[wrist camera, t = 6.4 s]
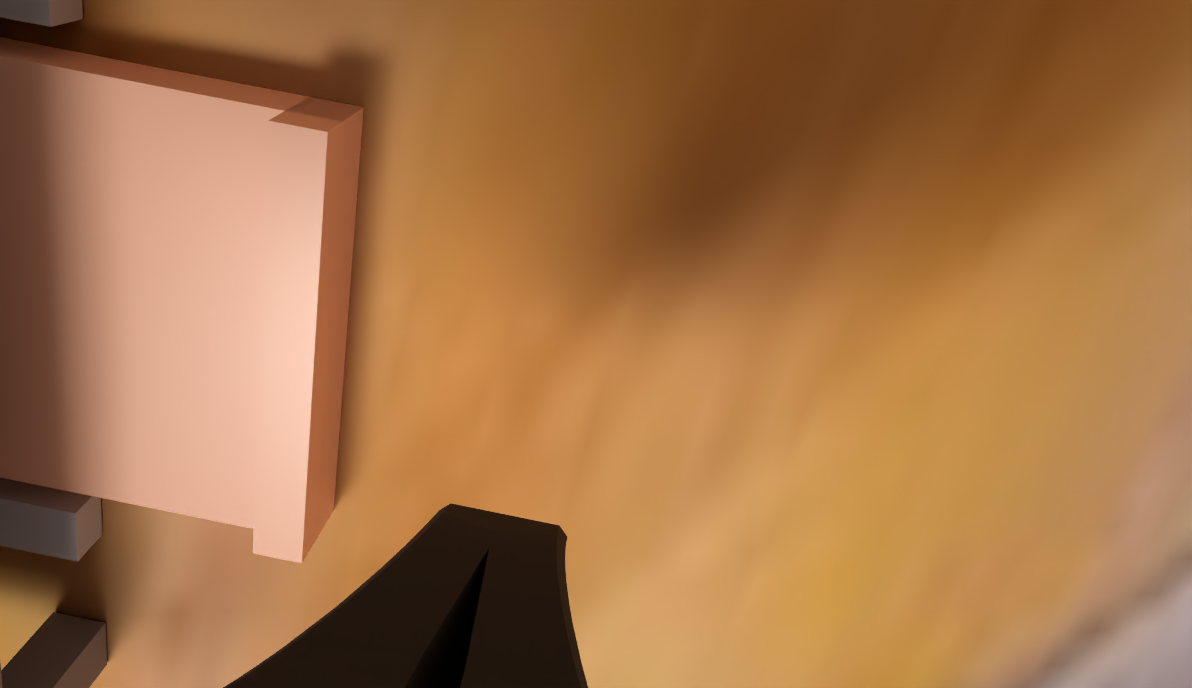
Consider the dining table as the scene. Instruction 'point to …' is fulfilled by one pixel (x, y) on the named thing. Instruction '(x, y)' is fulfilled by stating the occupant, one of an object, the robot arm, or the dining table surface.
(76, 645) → the overhang
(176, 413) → the stepped pink slab
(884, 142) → the dining table surface
